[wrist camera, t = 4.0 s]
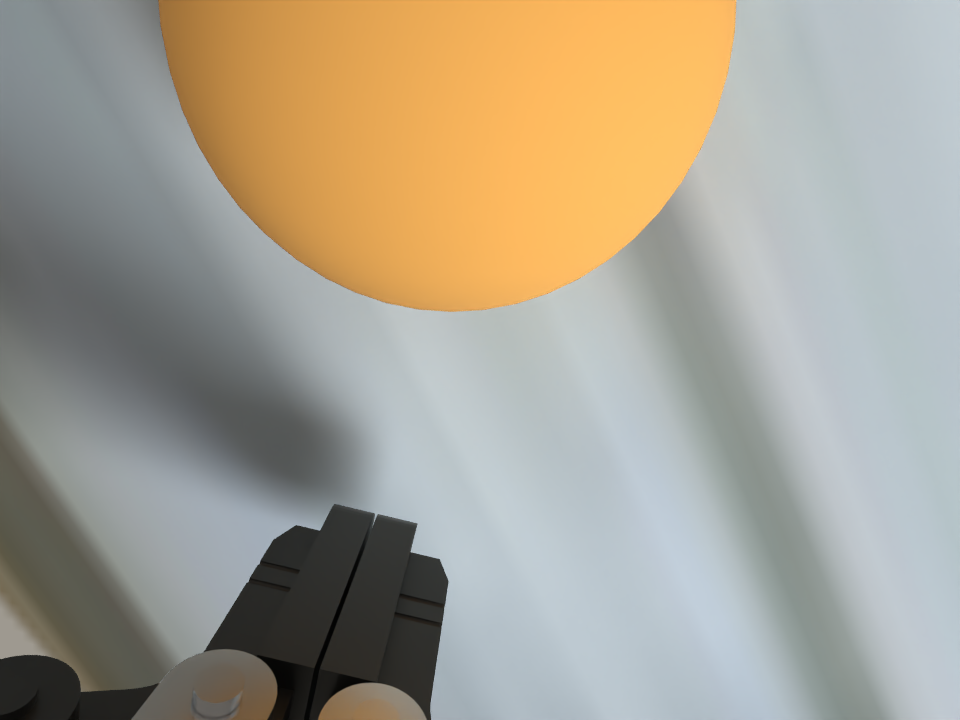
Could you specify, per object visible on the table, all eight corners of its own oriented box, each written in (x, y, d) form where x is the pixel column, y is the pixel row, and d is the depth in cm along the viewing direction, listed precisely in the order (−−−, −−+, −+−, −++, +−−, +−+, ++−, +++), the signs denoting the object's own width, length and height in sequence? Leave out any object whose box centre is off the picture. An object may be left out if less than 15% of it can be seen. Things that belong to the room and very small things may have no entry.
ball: (719, -84, 9) (1054, -468, 4) (592, 304, 11) (678, 463, 5) (318, -203, 9) (-13, -815, 3) (256, 214, 11) (-23, 280, 5)
